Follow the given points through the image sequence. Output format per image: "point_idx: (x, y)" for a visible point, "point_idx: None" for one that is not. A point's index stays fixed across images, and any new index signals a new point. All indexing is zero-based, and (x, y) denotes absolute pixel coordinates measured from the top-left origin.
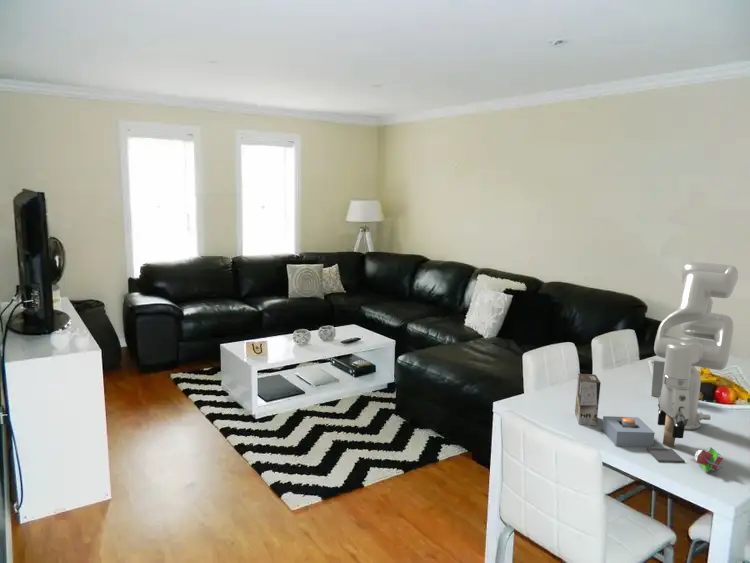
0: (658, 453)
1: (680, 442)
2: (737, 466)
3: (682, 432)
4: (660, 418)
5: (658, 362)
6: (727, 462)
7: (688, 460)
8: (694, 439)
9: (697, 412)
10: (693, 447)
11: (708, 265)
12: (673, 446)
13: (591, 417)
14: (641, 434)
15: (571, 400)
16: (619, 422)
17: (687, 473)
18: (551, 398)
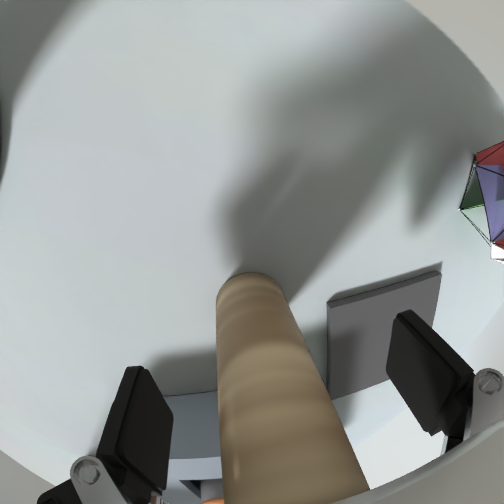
0: (379, 366)
1: (188, 216)
2: (426, 33)
3: (434, 342)
4: (166, 458)
5: None
6: (406, 48)
7: (421, 245)
8: (110, 104)
9: None
10: (253, 146)
11: None
12: (276, 283)
13: (159, 499)
14: None
15: (24, 450)
16: (200, 491)
17: (482, 279)
18: (47, 473)
